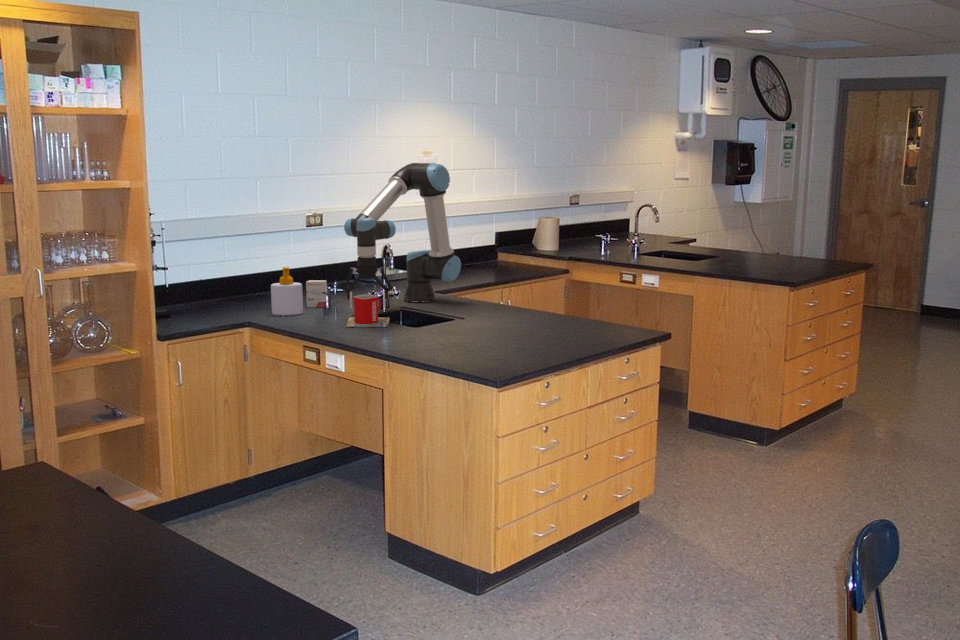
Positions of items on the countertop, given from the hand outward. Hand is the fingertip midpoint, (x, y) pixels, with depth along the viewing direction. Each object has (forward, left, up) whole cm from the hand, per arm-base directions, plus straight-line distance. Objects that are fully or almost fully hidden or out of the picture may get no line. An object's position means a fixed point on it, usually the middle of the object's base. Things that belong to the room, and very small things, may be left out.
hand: (367, 307), depth 386 cm
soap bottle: (+36, -21, -7) cm, 42 cm away
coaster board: (0, 0, -7) cm, 7 cm away
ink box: (+25, -37, -7) cm, 45 cm away
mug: (-1, 0, -6) cm, 6 cm away
